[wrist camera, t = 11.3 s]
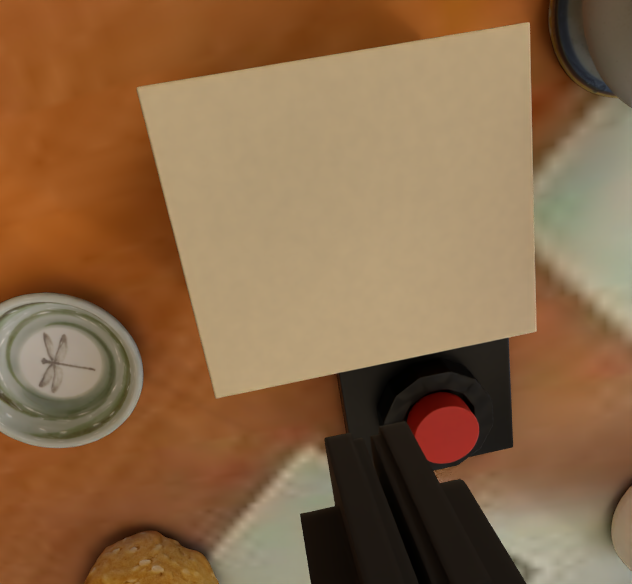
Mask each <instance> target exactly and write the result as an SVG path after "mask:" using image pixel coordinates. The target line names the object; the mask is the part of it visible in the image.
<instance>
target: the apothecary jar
mask: <svg viewBox="0 0 632 584" xmlns="http://www.w3.org/2000/svg"><path fill="white" fill-rule="evenodd" d="M549 32H550V37H551V41H552V45H553V48H554V51H555V54H556V56H557V58H558V60H559V62H560V64H561V66H562V67H563V69H564V70H565V72H566V73H567V74H568V76H569V77H570V78H571V79H572V80H573V81H574V82H575V83H577V84H578V85H579V86H581V87H582V88H584V89H586V90H587V91H589V92H591V93H594V94H597V95H601V96H606V97H614V98H619V99H620V100H621V101H623V102H624V103H625V104H627V105H628V106H629V107H631V108H632V0H550V4H549Z"/></svg>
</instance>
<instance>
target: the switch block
mask: <svg viewBox="0 0 632 584" xmlns="http://www.w3.org/2000/svg"><path fill="white" fill-rule="evenodd" d="M337 379H338V385H339V392H340V398H341V404H342V410H343V416H344V422H345V428H346V433H351V434H352V436H353V439H358V438H363V439H364V442H365V444H366V447H367V449H368V452H369V455H370V457H371V460H372V463H373V457H372V449H371V441H370V437H371V436H373V435H377V434H379V427H380V426H385V425H389V424H394V423H399V422H404V421H405V422H407V418H408V415H409V412H410V410H411V409H412V407H413V406H414V405H415V404H416V403H417V402H418V401H419V400H420V399H421V398H423V397H425V396H427V395H429V394H432V393H436V392H448V393H452V394H455V395H457V396H459V397H460V398H461V399H462V400H463V401H464V402H465V403H466V405H467V406H468V408H469V409H470V410H471V412H472V413H473V414H474V416H475V417H476V419H477V421H478V424H479V436H478V439H477V442H476V444H475V445H474V447H473V448H472V450H471V451H470V452H469V453H468V454H466V455H465V456H464V457H462V458H461V459H459V460H457V461H454V462H451V463H444V464H440V463H433V462H430V461H428V460H427V461H428V463H429V464H430V466H431V468H432V470H433V471H434V470H438V469H443V468H447V467H452V466H456V465H459V464H460V463H461V462H463V461H464V460H465V459H467V458H468V457H471V456H476V455H480V454H485V453H489V452H494V451H498V450H503V449H507V448H512V447H513V432H512V407H511V383H510V359H509V337H508V338H504V339H499V340H494V341H489V342H484V343H480V344H475V345H470V346H465V347H461V348H456V349H451V350H446V351H441V352H437V353H432V354H427V355H422V356H417V357H413V358H408V359H403V360H398V361H393V362H389V363H384V364H379V365H374V366H370V367H365V368H360V369H355V370H350V371H346V372H341V373H337ZM373 465H374V464H373Z"/></svg>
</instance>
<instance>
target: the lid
mask: <svg viewBox="0 0 632 584" xmlns="http://www.w3.org/2000/svg"><path fill="white" fill-rule="evenodd" d="M137 93H138V97H139V101H140V105H141V109H142V113H143V117H144V120H145V124H146V128H147V132H148V136H149V140H150V144H151V148H152V152H153V156H154V160H155V163H156V167H157V171H158V175H159V179H160V183H161V187H162V191H163V195H164V199H165V203H166V206H167V210H168V214H169V218H170V222H171V226H172V230H173V234H174V238H175V242H176V246H177V249H178V253H179V257H180V261H181V265H182V269H183V273H184V277H185V281H186V285H187V289H188V292H189V296H190V300H191V304H192V308H193V312H194V316H195V320H196V324H197V328H198V332H199V336H200V339H201V343H202V347H203V351H204V355H205V359H206V363H207V367H208V371H209V375H210V379H211V382H212V386H213V390H214V394H215V397H216V398H221V397H226V396H231V395H235V394H240V393H245V392H250V391H255V390H259V389H264V388H269V387H274V386H279V385H283V384H288V383H293V382H298V381H302V380H307V379H312V378H317V377H322V376H326V375H331V374H336V373H341V372H346V371H350V370H355V369H360V368H365V367H370V366H374V365H379V364H384V363H389V362H393V361H398V360H403V359H408V358H413V357H417V356H422V355H427V354H432V353H437V352H441V351H446V350H451V349H456V348H461V347H465V346H470V345H475V344H480V343H484V342H489V341H494V340H499V339H504V338H508V337H513V336H518V335H523V334H528V333H532V332H536V290H535V244H534V198H533V152H532V106H531V60H530V24H529V23H528V22H526V23H520V24H514V25H508V26H502V27H496V28H490V29H484V30H478V31H472V32H466V33H460V34H454V35H448V36H442V37H436V38H430V39H424V40H418V41H412V42H406V43H400V44H394V45H388V46H382V47H376V48H369V49H363V50H357V51H351V52H345V53H339V54H333V55H327V56H321V57H315V58H309V59H303V60H297V61H291V62H285V63H279V64H273V65H267V66H261V67H255V68H249V69H243V70H237V71H231V72H225V73H219V74H213V75H207V76H201V77H195V78H189V79H182V80H176V81H170V82H164V83H158V84H152V85H146V86H140V87H137Z"/></svg>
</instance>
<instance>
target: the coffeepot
mask: <svg viewBox="0 0 632 584" xmlns="http://www.w3.org/2000/svg"><path fill="white" fill-rule="evenodd" d="M611 537H612V542H613V545H614V548H615V551H616V553H617V554H618V556H619V557H620V559H621V560H622V561H623V563H624V564H625V565H626V566H627V567H628V568H629V569H630V570H631V571H632V486H631V487H630V488H629V489H628V490H627V491H626V493H625V494H624V495H623V497H622V498H621V500H620V502H619V503H618V505H617V507H616V510H615V512H614V516H613V519H612V527H611Z"/></svg>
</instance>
